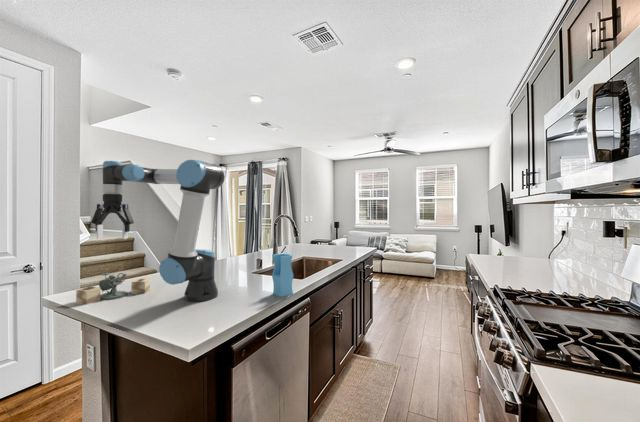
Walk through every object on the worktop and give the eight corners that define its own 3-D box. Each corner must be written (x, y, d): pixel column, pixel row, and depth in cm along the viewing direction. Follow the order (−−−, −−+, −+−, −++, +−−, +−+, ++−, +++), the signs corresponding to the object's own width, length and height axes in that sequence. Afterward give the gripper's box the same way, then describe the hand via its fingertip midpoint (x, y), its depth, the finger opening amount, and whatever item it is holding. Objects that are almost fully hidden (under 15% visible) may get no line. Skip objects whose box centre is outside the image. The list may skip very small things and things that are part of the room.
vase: (271, 293, 141) (272, 254, 140) (284, 290, 146) (284, 253, 146) (280, 297, 135) (280, 256, 134) (293, 294, 140) (293, 255, 140)
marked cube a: (149, 290, 144) (149, 278, 143) (144, 293, 138) (144, 281, 138) (136, 290, 142) (137, 278, 142) (131, 294, 136) (131, 281, 136)
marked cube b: (100, 300, 127) (100, 286, 127) (86, 304, 121) (86, 290, 121) (90, 299, 128) (90, 285, 128) (76, 303, 123) (76, 289, 122)
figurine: (115, 300, 127) (115, 274, 127) (93, 299, 127) (93, 274, 127) (131, 293, 138) (131, 269, 138) (110, 292, 138) (110, 269, 138)
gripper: (142, 194, 135) (142, 237, 135) (95, 193, 136) (95, 237, 136) (131, 193, 127) (131, 239, 127) (81, 193, 128) (81, 239, 128)
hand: (112, 238), depth 132 cm, fingers open, 12 cm apart
